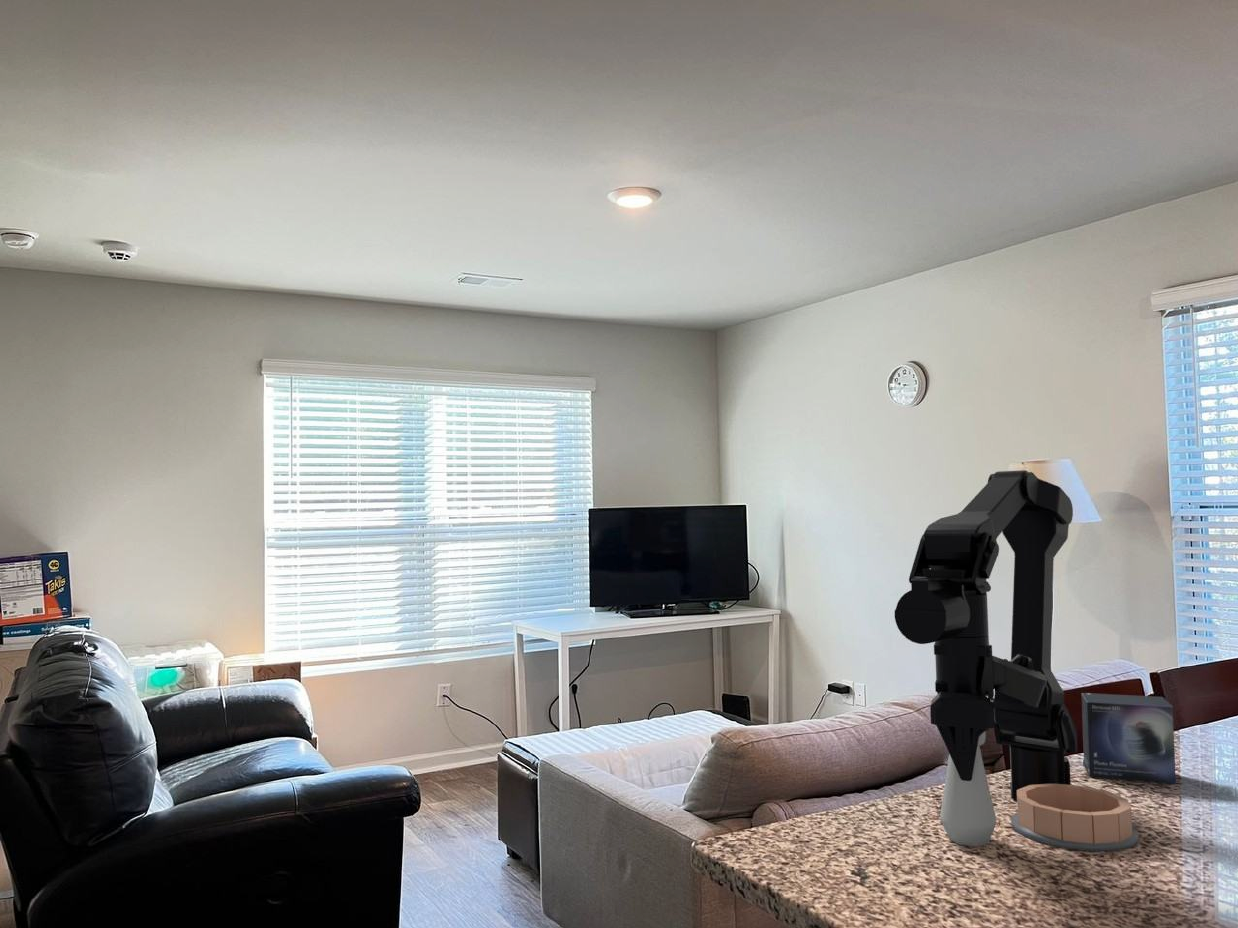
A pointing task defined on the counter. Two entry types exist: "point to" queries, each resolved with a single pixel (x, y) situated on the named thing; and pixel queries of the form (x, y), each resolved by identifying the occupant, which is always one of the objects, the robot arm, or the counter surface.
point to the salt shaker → (968, 804)
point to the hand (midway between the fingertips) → (966, 775)
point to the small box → (1128, 737)
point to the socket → (1074, 817)
